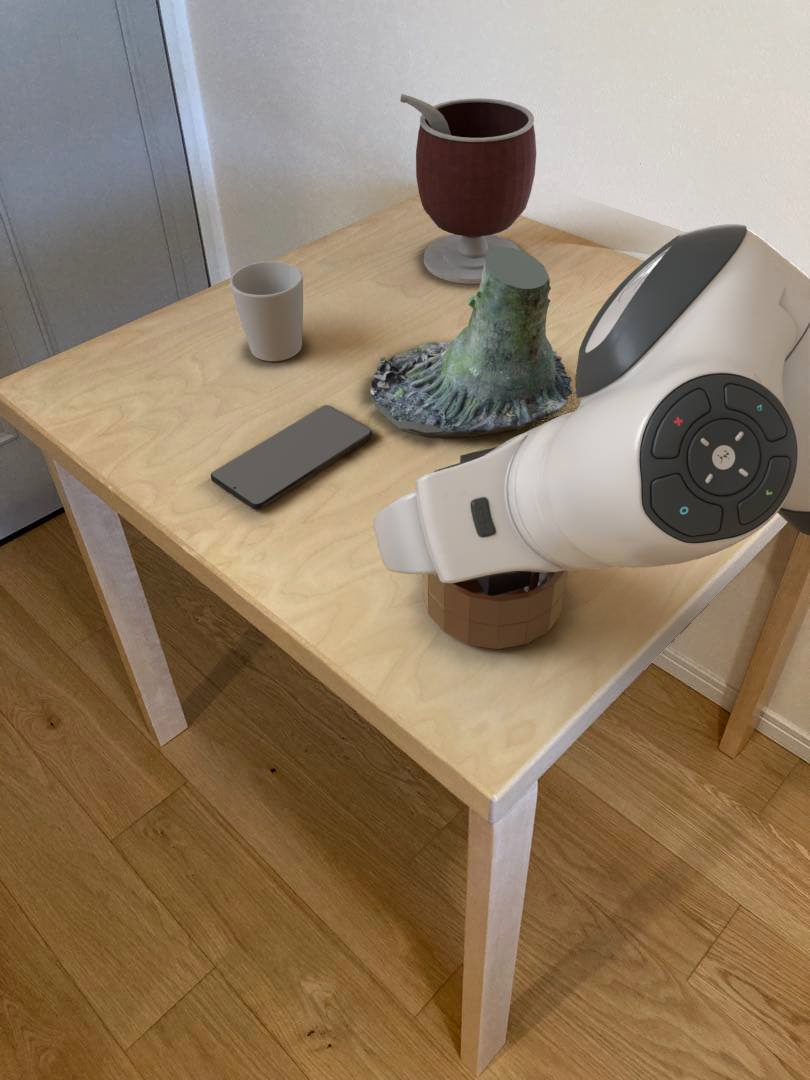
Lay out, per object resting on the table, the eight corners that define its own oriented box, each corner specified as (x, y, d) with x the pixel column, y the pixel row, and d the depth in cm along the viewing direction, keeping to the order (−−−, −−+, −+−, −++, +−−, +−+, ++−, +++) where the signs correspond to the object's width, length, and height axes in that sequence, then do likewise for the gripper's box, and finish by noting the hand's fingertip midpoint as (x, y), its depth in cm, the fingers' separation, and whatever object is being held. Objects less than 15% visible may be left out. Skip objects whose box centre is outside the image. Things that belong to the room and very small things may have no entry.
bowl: (539, 542, 76) (545, 489, 72) (580, 640, 68) (589, 587, 64) (412, 561, 75) (411, 508, 71) (439, 663, 67) (440, 611, 63)
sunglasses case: (497, 534, 71) (504, 444, 65) (530, 585, 67) (541, 495, 61) (456, 545, 70) (460, 455, 64) (487, 598, 66) (493, 507, 60)
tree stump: (418, 330, 102) (459, 181, 89) (574, 410, 98) (641, 268, 85) (335, 409, 90) (368, 251, 77) (510, 504, 86) (577, 355, 73)
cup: (240, 370, 96) (227, 298, 90) (243, 321, 103) (232, 252, 97) (311, 365, 96) (303, 293, 90) (309, 317, 104) (302, 247, 98)
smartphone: (374, 430, 86) (255, 506, 79) (375, 437, 87) (257, 514, 79) (325, 402, 90) (207, 473, 82) (326, 409, 91) (208, 480, 83)
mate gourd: (518, 232, 118) (530, 67, 104) (536, 284, 108) (551, 109, 94) (401, 238, 117) (396, 73, 103) (408, 291, 107) (404, 117, 93)
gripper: (708, 405, 55) (607, 441, 68) (392, 482, 50) (350, 504, 63) (734, 505, 55) (628, 521, 68) (421, 592, 50) (373, 590, 63)
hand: (492, 513), depth 66 cm, fingers closed on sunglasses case, 3 cm apart
